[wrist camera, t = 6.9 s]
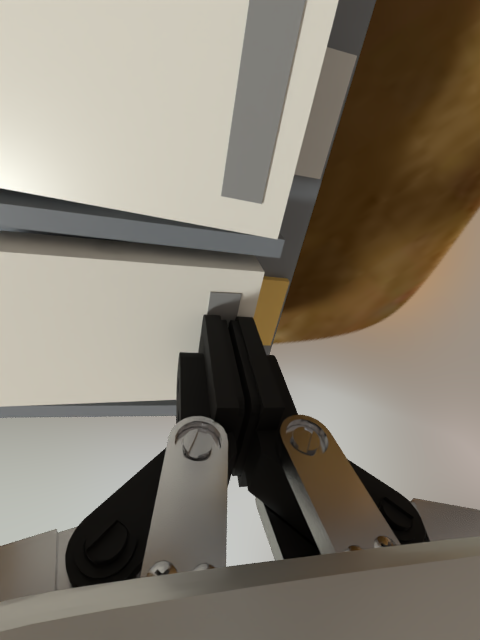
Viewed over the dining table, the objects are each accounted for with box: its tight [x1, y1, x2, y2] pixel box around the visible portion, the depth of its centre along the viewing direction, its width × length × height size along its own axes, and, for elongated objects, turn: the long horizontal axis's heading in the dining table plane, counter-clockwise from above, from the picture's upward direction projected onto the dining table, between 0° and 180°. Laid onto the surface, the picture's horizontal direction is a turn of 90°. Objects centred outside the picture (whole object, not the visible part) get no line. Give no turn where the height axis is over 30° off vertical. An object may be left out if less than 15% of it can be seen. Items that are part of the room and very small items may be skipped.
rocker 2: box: [0, 230, 265, 407], centre depth 11 cm, size 6×9×2 cm, turn 79°
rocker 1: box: [0, 0, 339, 239], centre depth 7 cm, size 6×9×2 cm, turn 79°
